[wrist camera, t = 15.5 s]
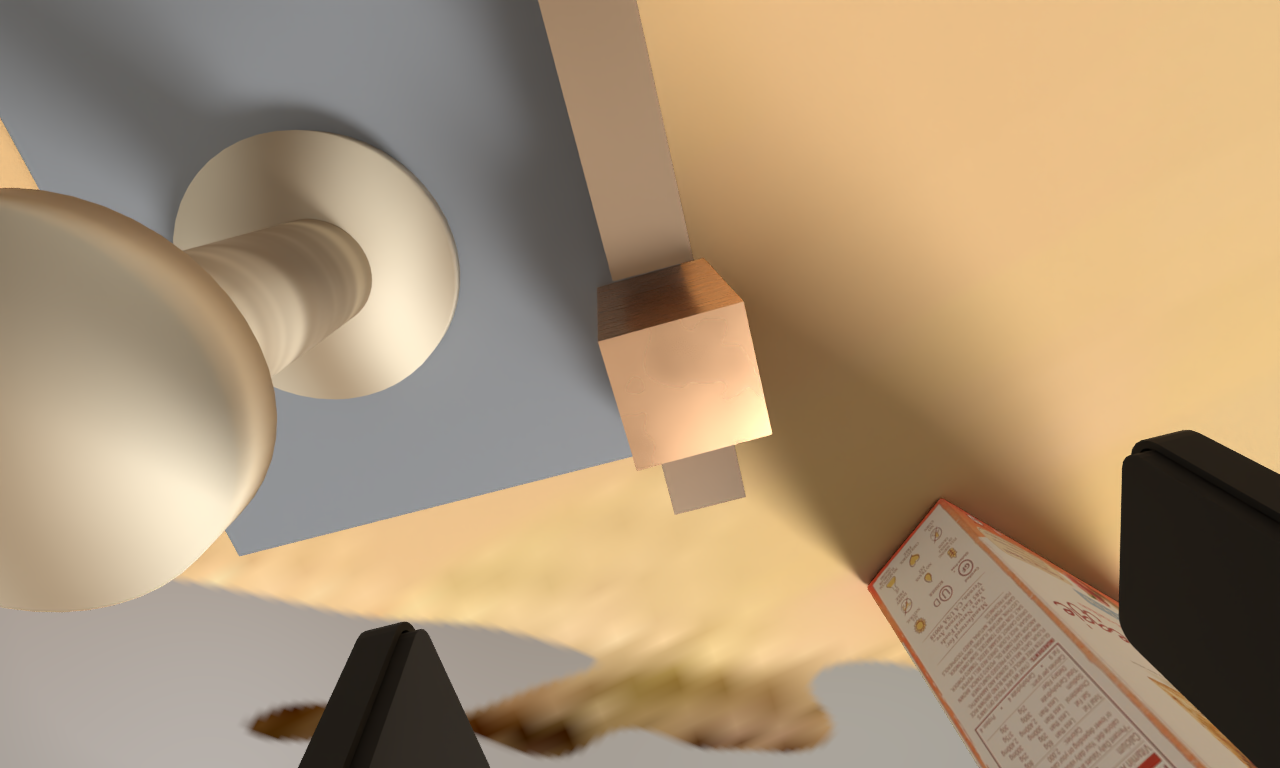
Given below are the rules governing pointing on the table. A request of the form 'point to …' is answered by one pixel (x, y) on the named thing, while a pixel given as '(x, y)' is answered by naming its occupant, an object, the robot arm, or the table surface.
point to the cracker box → (1033, 657)
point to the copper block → (680, 363)
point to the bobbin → (194, 351)
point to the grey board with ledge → (445, 164)
